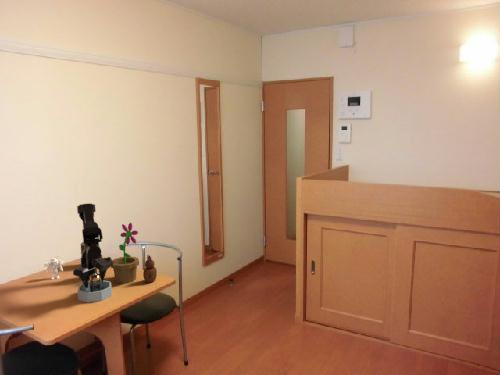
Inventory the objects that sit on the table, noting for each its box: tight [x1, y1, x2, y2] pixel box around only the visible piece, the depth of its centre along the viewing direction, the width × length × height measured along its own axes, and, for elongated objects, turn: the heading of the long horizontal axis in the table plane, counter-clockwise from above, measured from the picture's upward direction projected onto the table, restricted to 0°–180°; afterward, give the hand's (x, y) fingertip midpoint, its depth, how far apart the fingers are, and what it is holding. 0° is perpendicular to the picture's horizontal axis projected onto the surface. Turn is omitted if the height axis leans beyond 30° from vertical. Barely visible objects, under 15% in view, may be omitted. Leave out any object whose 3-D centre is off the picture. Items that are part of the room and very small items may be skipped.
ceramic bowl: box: [77, 279, 113, 303], centre depth 187 cm, size 15×15×4 cm
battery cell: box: [89, 272, 101, 292], centre depth 187 cm, size 4×4×10 cm
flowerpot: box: [110, 222, 140, 284], centre depth 204 cm, size 14×14×30 cm
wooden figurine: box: [142, 254, 158, 284], centre depth 203 cm, size 7×6×15 cm
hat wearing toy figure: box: [44, 255, 64, 280], centre depth 208 cm, size 9×4×12 cm, turn 118°
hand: (94, 284), depth 187 cm, fingers open, 9 cm apart
